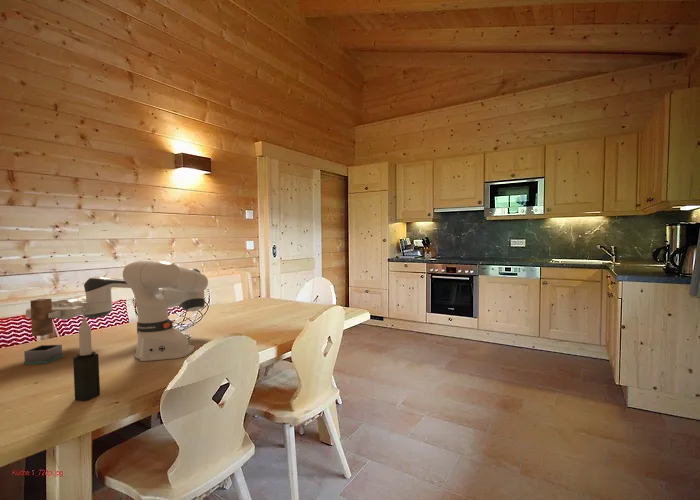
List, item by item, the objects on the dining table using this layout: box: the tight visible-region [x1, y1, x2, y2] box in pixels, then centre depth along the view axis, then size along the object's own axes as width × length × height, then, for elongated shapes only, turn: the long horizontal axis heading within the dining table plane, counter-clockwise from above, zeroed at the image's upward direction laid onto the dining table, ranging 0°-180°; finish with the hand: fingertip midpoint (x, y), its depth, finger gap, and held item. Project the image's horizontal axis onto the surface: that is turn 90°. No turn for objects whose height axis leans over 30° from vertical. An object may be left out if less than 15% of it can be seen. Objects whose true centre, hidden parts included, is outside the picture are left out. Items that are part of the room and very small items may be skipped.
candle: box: [72, 316, 101, 402], centre depth 108 cm, size 5×5×25 cm
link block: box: [30, 298, 54, 337], centre depth 142 cm, size 4×4×14 cm
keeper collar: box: [23, 344, 64, 365], centre depth 142 cm, size 9×9×5 cm
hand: (39, 316), depth 141 cm, fingers closed on link block, 4 cm apart
